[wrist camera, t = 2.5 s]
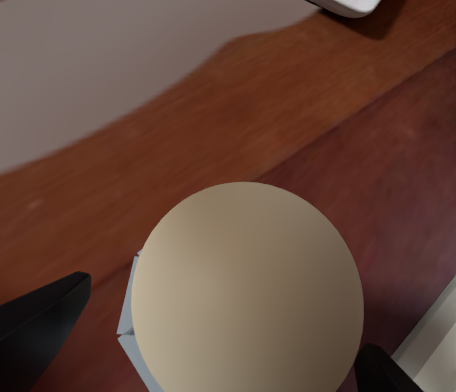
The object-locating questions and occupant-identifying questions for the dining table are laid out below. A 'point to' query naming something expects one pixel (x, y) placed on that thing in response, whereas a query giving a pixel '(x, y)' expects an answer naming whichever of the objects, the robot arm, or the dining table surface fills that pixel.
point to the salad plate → (347, 6)
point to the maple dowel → (247, 295)
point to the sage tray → (432, 346)
